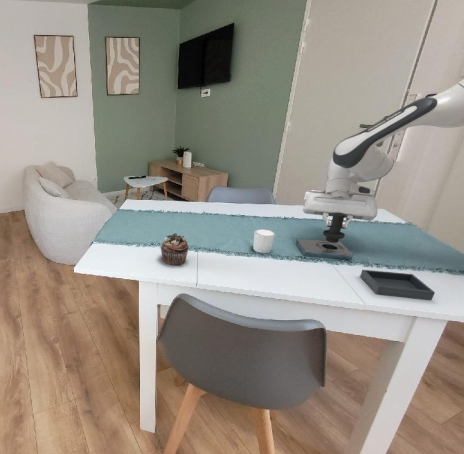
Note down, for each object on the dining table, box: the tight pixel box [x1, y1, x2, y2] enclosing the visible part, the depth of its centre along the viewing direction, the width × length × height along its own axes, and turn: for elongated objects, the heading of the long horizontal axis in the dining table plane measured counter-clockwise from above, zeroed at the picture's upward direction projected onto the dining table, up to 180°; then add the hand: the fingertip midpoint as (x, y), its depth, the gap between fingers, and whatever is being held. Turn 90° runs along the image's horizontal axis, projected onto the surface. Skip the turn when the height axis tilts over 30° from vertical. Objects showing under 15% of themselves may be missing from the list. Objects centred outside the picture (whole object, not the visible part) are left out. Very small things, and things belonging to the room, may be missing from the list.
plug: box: [322, 213, 346, 243], centre depth 100 cm, size 6×6×10 cm
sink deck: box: [295, 238, 354, 261], centre depth 104 cm, size 14×10×2 cm
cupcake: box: [160, 233, 189, 266], centre depth 102 cm, size 10×10×10 cm
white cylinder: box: [252, 228, 276, 254], centre depth 107 cm, size 7×7×7 cm
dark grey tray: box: [359, 269, 436, 301], centre depth 83 cm, size 12×9×2 cm
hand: (336, 227), depth 100 cm, fingers closed on plug, 3 cm apart
